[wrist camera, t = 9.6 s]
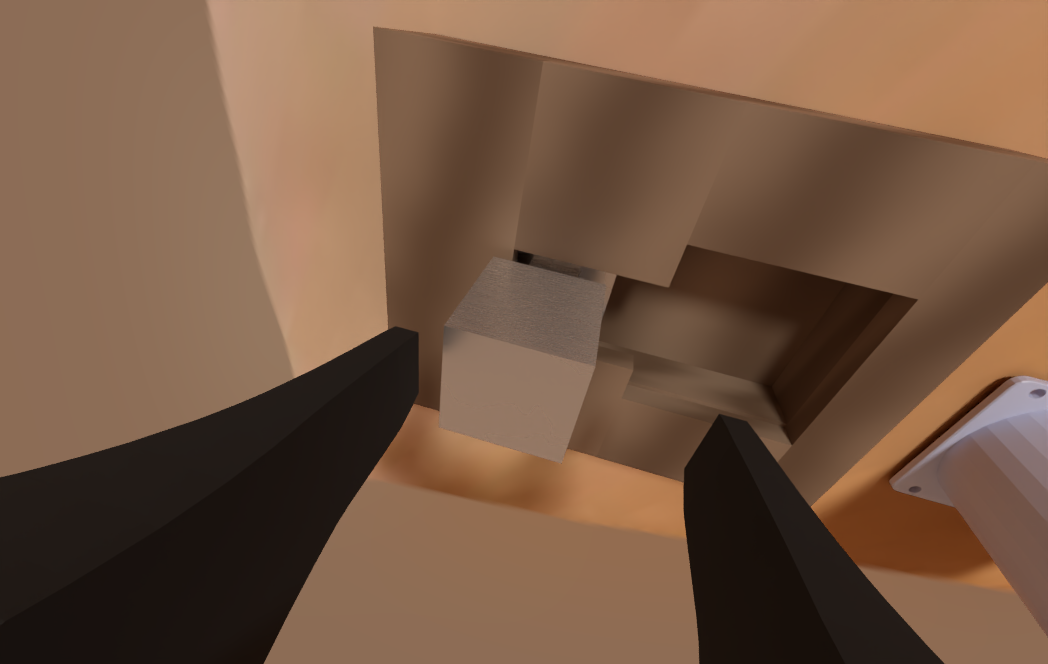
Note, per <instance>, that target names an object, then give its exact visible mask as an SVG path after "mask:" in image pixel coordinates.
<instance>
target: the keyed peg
mask: <svg viewBox="0 0 1048 664" xmlns="http://www.w3.org/2000/svg"><path fill="white" fill-rule="evenodd" d="M615 278H616V275H615V274H611V273H607V272H603V271H599V270H595V269H591V268H587V267H583V266H579V265H575V264H571V263H567V262H563V261H559V260H555V259H551V258H547V257H543V256H539V255H535V254H531V253H527V252H523V251H518V258H517V262H514V261H510V260H506V259H502V258H498V257H494V256H493V258H492V259H491V261H490V262H489V263H488V265H487V266H486V268H485V269H484V270H483V272H482V273H481V275H480V276H479V277H478V279H477V280H476V282H475V283H474V284H473V286H472V287H471V289H470V290H469V291H468V293H467V294H466V296H465V297H464V298H463V300H462V301H461V302H460V304H459V305H458V307H457V308H456V309H455V311H454V312H453V314H452V315H451V316H450V318H449V319H448V321H447V322H446V323H445V325H444V335H443V355H442V375H441V394H440V414H439V427H440V428H443V429H446V430H450V431H453V432H456V433H460V434H463V435H467V436H470V437H473V438H477V439H480V440H483V441H487V442H490V443H494V444H497V445H500V446H504V447H507V448H510V449H514V450H517V451H521V452H524V453H527V454H531V455H534V456H537V457H541V458H544V459H548V460H551V461H554V462H558V463H561V464H562V461H563V458H564V455H565V452H566V449H567V446H568V444H569V441H570V438H571V435H572V432H573V429H574V426H575V424H576V421H577V418H578V415H579V412H580V409H581V406H582V404H583V401H584V398H585V395H586V392H587V389H588V386H589V384H590V381H591V378H592V375H593V372H594V369H595V366H596V358H597V351H598V343H599V335H600V328H601V321H602V318H603V315H604V312H605V309H606V306H607V303H608V300H609V297H610V294H611V291H612V288H613V285H614V282H615Z"/></svg>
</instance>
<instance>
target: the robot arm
mask: <svg viewBox="0 0 1048 664" xmlns="http://www.w3.org/2000/svg"><path fill="white" fill-rule="evenodd" d="M1033 390H1034V391H1033ZM1031 391H1032V392H1031ZM418 393H419V332H416V331H412V330H408V329H404V328H401V327H397V326H394V327H393V328H391V329H389V330H387V331H385V332H383V333H381V334H379V335H377V336H375V337H374V338H372V339H370V340H368V341H366V342H364V343H363V344H361V345H359V346H357V347H355V348H353V349H352V350H350V351H348V352H346V353H344V354H342V355H340V356H338V357H336V358H334V359H333V360H331V361H329V362H327V363H325V364H323V365H321V366H319V367H317V368H315V369H313V370H311V371H309V372H307V373H305V374H303V375H301V376H299V377H297V378H294V379H292V380H290V381H288V382H286V383H284V384H282V385H280V386H278V387H276V388H273V389H271V390H269V391H267V392H265V393H263V394H260V395H258V396H256V397H253V398H251V399H249V400H246V401H244V402H242V403H239V404H237V405H234V406H231V407H229V408H226V409H224V410H221V411H219V412H216V413H213V414H211V415H208V416H206V417H203V418H200V419H198V420H195V421H192V422H189V423H186V424H183V425H180V426H177V427H174V428H171V429H168V430H165V431H162V432H159V433H156V434H153V435H150V436H147V437H144V438H141V439H138V440H135V441H132V442H129V443H126V444H123V445H119V446H116V447H112V448H109V449H105V450H102V451H99V452H95V453H92V454H89V455H85V456H81V457H78V458H74V459H70V460H67V461H63V462H60V463H56V464H52V465H48V466H45V467H41V468H37V469H33V470H29V471H25V472H21V473H18V474H13V475H9V476H5V477H0V664H264V662H265V660H266V658H267V656H268V654H269V652H270V650H271V648H272V646H273V644H274V642H275V639H276V638H277V636H278V634H279V632H280V630H281V628H282V626H283V624H284V622H285V620H286V618H287V616H288V614H289V611H290V610H291V608H292V606H293V604H294V602H295V600H296V598H297V596H298V595H299V593H300V591H301V589H302V587H303V585H304V583H305V581H306V579H307V578H308V575H309V574H310V572H311V570H312V568H313V566H314V564H315V562H316V561H317V559H318V557H319V555H320V554H321V552H322V550H323V548H324V546H325V544H326V543H327V541H328V539H329V537H330V535H331V534H332V532H333V530H334V528H335V526H336V524H337V523H338V521H339V520H340V518H341V517H342V515H343V513H344V512H345V510H346V509H347V507H348V505H349V504H350V502H351V501H352V500H353V498H354V497H355V495H356V494H357V492H358V491H359V489H360V488H361V486H362V485H363V483H364V482H365V480H366V479H367V478H368V476H369V475H370V473H371V472H372V470H373V469H374V467H375V466H376V464H377V463H378V461H379V460H380V458H381V457H382V456H383V454H384V453H385V451H386V450H387V448H388V447H389V445H390V444H391V442H392V441H393V439H394V438H395V436H396V435H397V433H398V432H399V430H400V429H401V427H402V425H403V423H404V421H405V419H406V417H407V416H408V414H409V412H410V410H411V408H412V406H413V404H414V402H415V400H416V397H417V395H418ZM889 483H890V485H891V486H892V488H893V489H894V490H896V491H898V492H902V493H905V494H909V495H912V496H916V497H919V498H923V499H927V500H930V501H934V502H937V503H941V504H944V505H948V506H952V507H955V508H956V509H957V510H958V512H959V513H960V514H961V516H962V517H963V519H964V520H965V522H966V523H967V524H968V526H969V527H970V529H971V530H972V531H973V533H974V534H975V536H976V537H977V538H978V540H979V541H980V543H981V544H982V545H983V547H984V548H985V550H986V551H987V552H988V554H989V555H990V557H991V558H992V559H993V561H994V562H995V564H996V565H997V567H998V568H999V569H1000V571H1001V572H1002V574H1003V575H1004V576H1005V578H1006V579H1007V581H1008V582H1009V583H1010V585H1011V586H1012V588H1013V589H1014V590H1015V592H1016V593H1017V595H1018V596H1019V597H1020V599H1021V600H1022V602H1023V603H1024V604H1025V606H1026V607H1027V609H1028V610H1029V611H1030V613H1031V614H1032V615H1033V617H1034V619H1035V620H1036V621H1037V623H1038V624H1039V626H1040V627H1041V628H1042V630H1043V631H1044V633H1045V634H1046V635H1047V637H1048V381H1045V380H1041V379H1037V378H1033V377H1029V376H1018V377H1013V378H1011V379H1009V380H1007V381H1006V382H1004V383H1003V384H1002V385H1001V386H1000V387H998V388H997V389H996V390H995V391H994V392H993V393H991V394H990V395H989V396H988V397H987V398H985V399H984V400H983V401H982V402H981V403H979V404H978V405H977V406H976V407H975V408H974V409H972V410H971V411H970V412H969V413H968V414H966V415H965V416H964V417H963V418H962V419H961V420H959V421H958V422H957V423H956V424H955V425H953V426H952V427H951V428H950V429H949V430H948V431H946V432H945V433H944V434H943V435H942V436H940V437H939V438H938V439H937V440H936V441H935V442H933V443H932V444H931V445H930V446H929V447H927V448H926V449H925V450H924V451H923V452H922V453H920V454H919V455H918V456H917V457H916V458H914V459H913V460H912V461H911V462H910V463H908V464H907V465H906V466H905V467H904V468H903V469H901V470H900V471H899V472H898V473H897V474H895V475H894V476H893V477H892V478H891V479H890V480H889ZM684 519H685V528H686V536H687V544H688V553H689V560H690V569H691V577H692V585H693V592H694V601H695V609H696V617H697V628H698V640H699V664H944V663H943V662H942V661H941V660H940V658H939V657H938V656H937V655H936V654H935V653H934V652H933V651H932V650H931V649H930V648H929V647H928V646H927V645H926V644H925V643H924V641H923V640H922V639H921V638H920V637H919V636H918V635H917V634H916V633H915V632H914V631H913V629H912V628H911V627H910V626H909V625H908V624H907V623H906V622H905V621H904V619H903V618H902V617H901V616H900V615H899V614H898V613H897V612H896V611H895V609H894V608H893V607H892V606H891V605H890V604H889V603H888V602H887V601H886V600H885V598H884V597H883V596H882V595H881V594H880V593H879V591H878V590H877V589H876V588H875V587H874V586H873V585H872V583H871V582H870V581H869V580H868V579H867V578H866V576H865V575H864V574H863V573H862V571H861V570H860V569H859V568H858V567H857V565H856V564H855V563H854V562H853V560H852V559H851V558H850V557H849V556H848V554H847V553H846V552H845V551H844V549H843V548H842V547H841V546H840V545H839V543H838V542H837V541H836V540H835V538H834V537H833V536H832V535H831V533H830V532H829V531H828V529H827V528H826V527H825V526H824V524H823V523H822V522H821V520H820V519H819V518H818V517H817V515H816V514H815V513H814V511H813V510H812V509H811V507H810V506H809V505H808V503H807V502H806V501H805V499H804V498H803V497H802V495H801V494H800V493H799V491H798V490H797V489H796V487H795V486H794V484H793V483H792V482H791V480H790V479H789V478H788V476H787V475H786V473H785V472H784V471H783V469H782V468H781V467H780V465H779V464H778V462H777V461H776V460H775V458H774V457H773V456H772V454H771V453H770V451H769V450H768V449H767V447H766V446H765V444H764V443H763V442H762V440H761V439H760V438H759V436H758V435H757V434H756V432H755V431H754V430H753V428H752V427H751V426H750V424H749V423H748V422H747V421H744V420H741V419H737V418H733V417H730V416H726V415H722V414H719V415H718V416H717V418H716V419H715V421H714V423H713V424H712V426H711V427H710V429H709V430H708V432H707V434H706V435H705V437H704V438H703V440H702V441H701V443H700V445H699V446H698V448H697V449H696V451H695V452H694V454H693V456H692V457H691V459H690V460H689V462H688V463H687V465H686V467H685V468H684Z"/></svg>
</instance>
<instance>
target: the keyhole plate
mask: <svg viewBox="0 0 1048 664" xmlns="http://www.w3.org/2000/svg"><path fill="white" fill-rule="evenodd" d="M373 33H374V53H375V73H376V93H377V113H378V133H379V153H380V173H381V193H382V213H383V233H384V253H385V273H386V293H387V313H388V330H389V329H391V328H393V327H394V326H397V327H401V328H404V329H408V330H412V331H416V332H419V393H418V395H417V397H416V400H415V402H414V404H417V405H421V406H424V407H428V408H431V409H434V410H438V411H440V394H441V375H442V355H443V335H444V325H445V323H446V322H447V321H448V319H449V318H450V316H451V315H452V314H453V312H454V311H455V309H456V308H457V307H458V305H459V304H460V302H461V301H462V300H463V298H464V297H465V296H466V294H467V293H468V291H469V290H470V289H471V287H472V286H473V284H474V283H475V282H476V280H477V279H478V277H479V276H480V275H481V273H482V272H483V270H484V269H485V268H486V266H487V265H488V263H489V262H490V261H491V259H492V258H493V256H494V257H498V258H502V259H506V260H510V261H514V262H517V258H518V251H523V252H527V253H531V254H535V255H539V256H543V257H547V258H551V259H555V260H559V261H563V262H567V263H571V264H575V265H579V266H583V267H587V268H591V269H595V270H599V271H603V272H607V273H611V274H615V275H616V278H615V282H614V285H613V288H612V291H611V294H610V297H609V300H608V303H607V306H606V309H605V312H604V315H603V318H602V321H601V328H600V335H599V343H598V351H597V358H596V366H595V369H594V372H593V375H592V378H591V381H590V384H589V386H588V389H587V392H586V395H585V398H584V401H583V404H582V406H581V409H580V412H579V415H578V418H577V421H576V424H575V426H574V429H573V432H572V435H571V438H570V441H569V444H568V446H567V448H568V449H571V450H575V451H578V452H581V453H585V454H588V455H592V456H595V457H599V458H602V459H605V460H609V461H612V462H616V463H619V464H622V465H626V466H629V467H633V468H636V469H640V470H643V471H646V472H650V473H653V474H657V475H660V476H664V477H667V478H670V479H674V480H677V481H681V482H684V468H685V467H686V465H687V463H688V462H689V460H690V459H691V457H692V456H693V454H694V452H695V451H696V449H697V448H698V446H699V445H700V443H701V441H702V440H703V438H704V437H705V435H706V434H707V432H708V430H709V429H710V427H711V426H712V424H713V423H714V421H715V419H716V418H717V416H718V415H719V414H722V415H726V416H730V417H733V418H737V419H741V420H744V421H747V422H748V423H749V424H750V426H751V427H752V428H753V430H754V431H755V432H756V434H757V435H758V436H759V438H760V439H761V440H762V442H763V443H764V444H765V446H766V447H767V449H768V450H769V451H770V453H771V454H772V456H773V457H774V458H775V460H776V461H777V462H778V464H779V465H780V467H781V468H782V469H783V471H784V472H785V473H786V475H787V476H788V478H789V479H790V480H791V482H792V483H793V484H794V486H795V487H796V489H797V490H798V491H799V493H800V494H801V495H802V497H803V498H804V499H805V501H806V502H807V503H808V505H809V506H810V507H811V506H812V505H813V504H814V503H815V502H816V501H817V500H818V499H819V498H820V497H821V496H822V495H823V494H824V493H825V492H826V491H828V490H829V489H830V488H831V487H832V486H833V485H834V484H835V483H836V482H837V481H838V480H839V479H840V478H841V477H842V476H843V475H844V474H846V473H847V472H848V471H849V470H850V469H851V468H852V467H853V466H854V465H855V464H856V463H857V462H858V461H859V460H860V459H861V458H862V457H863V456H865V455H866V454H867V453H868V452H869V451H870V450H871V449H872V448H873V447H874V446H875V445H876V444H877V443H878V442H879V441H880V440H881V439H883V438H884V437H885V436H886V435H887V434H888V433H889V432H890V431H891V430H892V429H893V428H894V427H895V426H896V425H897V424H898V423H899V422H900V421H902V420H903V419H904V418H905V417H906V416H907V415H908V414H909V413H910V412H911V411H912V410H913V409H914V408H915V407H916V406H917V405H918V404H920V403H921V402H922V401H923V400H924V399H925V398H926V397H927V396H928V395H929V394H930V393H931V392H932V391H933V390H934V389H935V388H936V387H938V386H939V385H940V384H941V383H942V382H943V381H944V380H945V379H946V378H947V377H948V376H949V375H950V374H951V373H952V372H953V371H954V370H955V369H957V368H958V367H959V366H960V365H961V364H962V363H963V362H964V361H965V360H966V359H967V358H968V357H969V356H970V355H971V354H972V353H973V352H975V351H976V350H977V349H978V348H979V347H980V346H981V345H982V344H983V343H984V342H985V341H986V340H987V339H988V338H989V337H990V336H991V335H992V334H994V333H995V332H996V331H997V330H998V329H999V328H1000V327H1001V326H1002V325H1003V324H1004V323H1005V322H1006V321H1007V320H1008V319H1009V318H1010V317H1012V316H1013V315H1014V314H1015V313H1016V312H1017V311H1018V310H1019V309H1020V308H1021V307H1022V306H1023V305H1024V304H1025V303H1026V302H1027V301H1028V300H1029V299H1031V298H1032V297H1033V296H1034V295H1035V294H1036V293H1037V292H1038V291H1039V290H1040V289H1041V288H1042V287H1043V286H1044V285H1045V284H1046V283H1047V282H1048V159H1046V158H1042V157H1038V156H1034V155H1030V154H1026V153H1022V152H1017V151H1013V150H1009V149H1004V148H999V147H994V146H989V145H984V144H979V143H974V142H969V141H964V140H959V139H954V138H949V137H944V136H939V135H934V134H929V133H924V132H919V131H914V130H909V129H904V128H899V127H894V126H889V125H884V124H879V123H874V122H869V121H865V120H860V119H855V118H850V117H845V116H840V115H835V114H830V113H825V112H820V111H815V110H810V109H805V108H800V107H795V106H790V105H785V104H780V103H775V102H770V101H765V100H760V99H755V98H750V97H745V96H740V95H735V94H730V93H725V92H720V91H715V90H710V89H705V88H700V87H695V86H691V85H686V84H681V83H676V82H671V81H666V80H661V79H656V78H651V77H646V76H641V75H636V74H631V73H626V72H621V71H616V70H611V69H606V68H601V67H596V66H591V65H586V64H581V63H576V62H571V61H566V60H561V59H556V58H551V57H546V56H541V55H536V54H531V53H526V52H521V51H516V50H512V49H507V48H502V47H497V46H492V45H487V44H482V43H477V42H472V41H467V40H462V39H457V38H452V37H447V36H442V35H437V34H430V33H421V32H413V31H404V30H396V29H388V28H379V27H373Z"/></svg>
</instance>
